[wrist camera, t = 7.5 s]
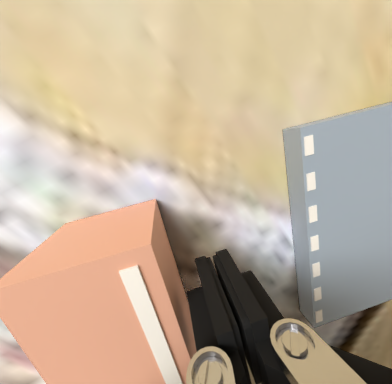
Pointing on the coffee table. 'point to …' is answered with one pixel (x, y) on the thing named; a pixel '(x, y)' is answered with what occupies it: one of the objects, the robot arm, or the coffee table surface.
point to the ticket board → (341, 211)
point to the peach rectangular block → (102, 302)
